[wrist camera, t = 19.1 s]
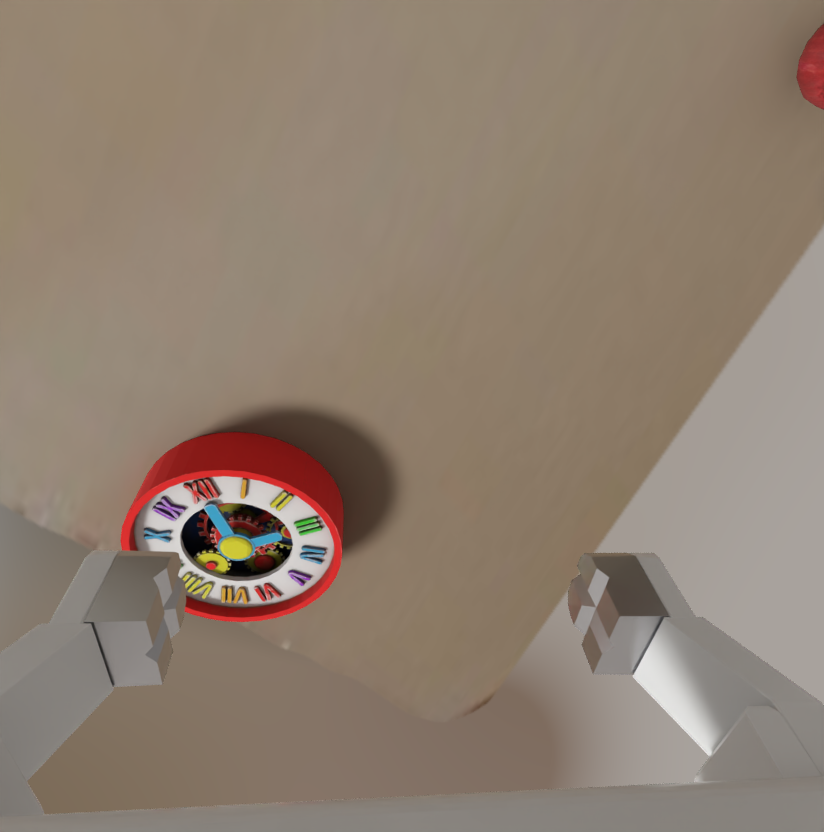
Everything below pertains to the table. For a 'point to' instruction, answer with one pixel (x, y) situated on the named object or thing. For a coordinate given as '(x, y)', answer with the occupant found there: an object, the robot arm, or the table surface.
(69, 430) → the table surface
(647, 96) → the table surface
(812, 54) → the red pomegranate
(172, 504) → the toy clock
